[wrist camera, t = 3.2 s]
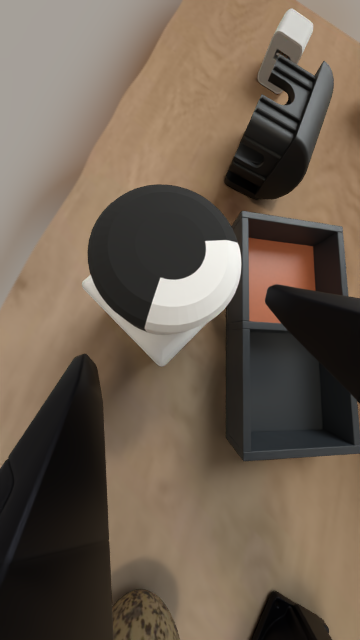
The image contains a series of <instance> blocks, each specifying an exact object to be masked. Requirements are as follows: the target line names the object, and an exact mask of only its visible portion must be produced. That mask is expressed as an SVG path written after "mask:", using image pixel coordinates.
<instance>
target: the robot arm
mask: <svg viewBox="0 0 360 640" xmlns="http://www.w3.org/2000/svg"><path fill="white" fill-rule="evenodd" d="M265 303H266V305H267V306H268V308H269V309H270V310H271V311H272V312H273V314H274V315H275V316H276V317H277V319H278V320H279V321H280V322H281V324H282V325H283V326H284V327H285V328H286V329H287V330H288V331H289V332H290V333H291V334H292V335H293V336H294V337H295V338H296V339H297V340H298V341H299V342H300V343H301V344H302V345H303V346H304V347H305V348H306V349H307V350H308V351H309V352H310V353H311V354H312V355H313V356H314V357H315V358H316V359H317V360H318V361H319V362H320V363H321V365H322V366H323V367H324V368H325V369H326V370H327V371H328V372H329V373H330V374H331V375H332V376H333V377H334V378H335V379H336V380H337V381H338V382H339V383H340V384H341V385H342V386H343V387H344V388H345V389H346V390H347V391H348V392H349V393H350V394H351V395H352V396H353V397H354V398H355V399H356V400H357V401H358V402H359V403H360V298H354V297H348V296H343V295H337V294H331V293H325V292H319V291H313V290H308V289H302V288H296V287H290V286H284V285H279V284H275V285H272V286H270V287H268V289H267V293H266V297H265ZM108 540H109V528H108V505H107V482H106V460H105V437H104V415H103V400H102V394H101V388H100V382H99V376H98V371H97V367H96V365H95V363H94V362H93V361H92V360H91V359H90V357H89V356H88V355H87V354H82V355H79V356H77V357H75V358H74V359H73V361H72V362H71V364H70V365H69V367H68V368H67V370H66V371H65V373H64V374H63V376H62V377H61V379H60V380H59V382H58V383H57V385H56V386H55V388H54V389H53V391H52V392H51V394H50V395H49V397H48V398H47V400H46V401H45V403H44V404H43V406H42V407H41V409H40V410H39V412H38V413H37V415H36V416H35V418H34V419H33V421H32V422H31V424H30V425H29V427H28V428H27V430H26V431H25V433H24V434H23V436H22V437H21V439H20V440H19V442H18V443H17V445H16V446H15V448H14V449H13V451H12V452H11V454H10V455H9V459H7V460H6V461H5V463H4V464H3V466H2V467H1V469H0V640H114V637H113V614H112V592H111V569H110V547H109V541H108ZM252 640H332V639H331V637H330V636H329V629H328V627H327V625H326V624H325V622H324V620H323V619H321V618H319V617H318V616H317V615H315V614H314V613H312V612H310V611H309V610H307V609H306V608H304V607H302V606H301V605H299V604H296V603H295V602H293V601H291V600H290V599H288V598H287V597H285V596H283V595H282V594H280V593H278V592H276V591H274V592H272V593H271V595H270V597H269V600H268V602H267V604H266V607H265V609H264V612H263V614H262V616H261V619H260V621H259V624H258V626H257V629H256V631H255V633H254V636H253V638H252Z"/></svg>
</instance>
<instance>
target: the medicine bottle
mask: <svg viewBox="0 0 360 640" xmlns="http://www.w3.org/2000/svg"><path fill="white" fill-rule="evenodd" d="M88 264H89V270H90V274H91V275H90V276H89V277H87V278H86V279H85V280H84V281H83V282H82V287H83V289H84V290H85V291H86V292H87V293H88V294H89V295H90V296H91V297H92V298H93V299H94V300H95V301H96V302H97V303H98V304H99V305H100V306H101V307H102V308H103V309H104V310H105V311H106V312H107V313H108V315H109V316H110V317H111V318H112V319H113V320H114V321H115V322H116V323H117V324H118V325H119V326H120V327H121V328H122V329H123V330H124V331H125V332H126V333H127V334H128V335H129V336H130V337H131V338H132V339H133V340H134V341H135V342H136V343H137V344H138V345H139V346H140V347H141V348H142V349H143V350H144V351H145V353H146V354H147V355H148V356H149V357H150V358H151V359H152V360H153V361H154V362H155V363H156V364H157V365H159V366H165V365H166V364H167V363H168V362H169V361H170V360H171V359H172V358H173V357H174V356H175V355H176V354H177V353H178V352H179V351H180V350H181V349H182V348H183V347H184V346H185V345H186V344H187V343H188V342H189V341H190V340H191V339H192V338H193V337H194V336H195V335H196V334H197V333H198V332H199V331H200V330H201V329H202V328H203V327H204V326H205V325H206V324H207V323H208V322H209V321H211V320H212V319H214V318H215V317H216V316H218V315H219V314H220V313H221V312H222V311H223V310H224V309H225V308H226V306H227V305H228V304H229V302H230V301H231V299H232V297H233V296H234V294H235V292H236V289H237V287H238V284H239V280H240V275H241V253H240V248H239V244H238V241H237V238H236V236H235V234H234V232H233V229H232V227H231V225H230V224H229V222H228V221H227V219H226V218H225V216H224V215H223V214H222V213H221V212H220V210H219V209H218V208H217V207H215V206H214V205H213V204H212V203H211V202H210V201H208V200H207V199H206V198H204V197H202V196H201V195H199V194H197V193H195V192H193V191H190V190H188V189H185V188H181V187H178V186H172V185H148V186H144V187H140V188H137V189H134V190H131V191H129V192H127V193H125V194H124V195H122V196H120V197H119V198H117V199H116V200H115V201H114V202H112V203H111V204H110V205H109V206H108V207H107V208H106V209H105V210H104V211H103V212H102V214H101V215H100V216H99V218H98V219H97V221H96V223H95V225H94V227H93V229H92V232H91V235H90V239H89V245H88Z"/></svg>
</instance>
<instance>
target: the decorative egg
mask: <svg viewBox="0 0 360 640" xmlns="http://www.w3.org/2000/svg"><path fill="white" fill-rule="evenodd" d="M112 614H113V637H114V640H180V638H179V634H178V631H177V628H176V625H175V622H174V620H173V618H172V616H171V614H170V612H169V610H168V608H167V607H166V605H165V604H164V603H163V601H162V600H161V599H160V598H159V597H158V596H157V595H155V594H154V593H152V592H150V591H147V590H135V591H132V592H130V593H128V594H126V595H125V596H123V597H122V598H121V599H120V600H119V601H117V602H116V604H115V605H114V606H113V607H112Z"/></svg>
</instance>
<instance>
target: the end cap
mask: <svg viewBox="0 0 360 640" xmlns="http://www.w3.org/2000/svg"><path fill="white" fill-rule="evenodd" d="M268 82H270V83H272V84H273V85H275V86H277V87H278V88H280V89H282V90H283V91H285V92H286V93H287V94H288V97H289V98H288V102H287V103H286V104H285V105H280V104H278V103H276V102H274V101H272V100H271V99H269V98H267V97H266V96H264V95H261V97H260V99H259V101H258V104H257V106H256V108H255V111H254V113H253V115H252V117H251V120H250V122H249V124H248V126H247V129H246V131H245V133H244V136H243V138H242V140H241V142H240V145H239V147H238V149H237V152H236V154H235V156H234V159H233V161H232V163H231V165H230V168H229V170H228V172H227V175H226V177H225V183H226V184H227V185H228V186H230V187H232V188H234V189H236V190H238V191H239V192H241V193H243V194H245V195H247V196H249V197H251V198H255V199H276V198H279V197H282V196H284V195H286V194H288V193H289V192H291V191H292V190H293V189H294V188H295V187H297V186H298V184H299V183H300V182H301V181H302V179H303V177H304V175H305V174H306V171H307V168H308V165H309V162H310V159H311V156H312V153H313V151H314V148H315V145H316V142H317V139H318V136H319V133H320V130H321V127H322V124H323V121H324V118H325V115H326V112H327V109H328V106H329V103H330V100H331V97H332V93H333V88H334V78H333V74H332V70H331V68H330V67H329V65H328V64H327V63H326V62H325V61H323V63H322V64H321V66H320V68H319V69H318V71H317V73H316V74H315V76H314V75H312V74H311V73H309V72H308V71H306V70H304V69H303V68H301V67H300V66H298V65H296V64H295V63H293V62H292V61H290V60H288V59H287V58H285V57H284V56H282V55H280V54H279V56H278V58H277V60H276V63H275V65H274V67H273V70H272V72H271V74H270V76H269V79H268Z"/></svg>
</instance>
